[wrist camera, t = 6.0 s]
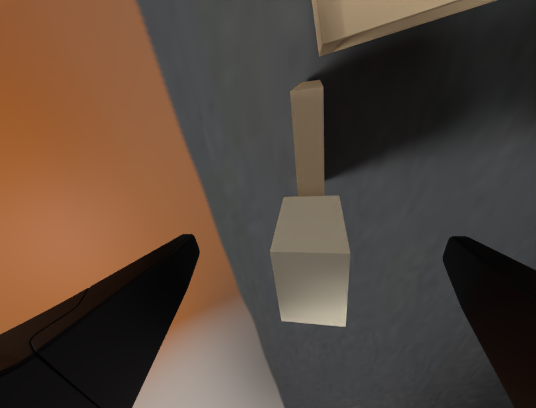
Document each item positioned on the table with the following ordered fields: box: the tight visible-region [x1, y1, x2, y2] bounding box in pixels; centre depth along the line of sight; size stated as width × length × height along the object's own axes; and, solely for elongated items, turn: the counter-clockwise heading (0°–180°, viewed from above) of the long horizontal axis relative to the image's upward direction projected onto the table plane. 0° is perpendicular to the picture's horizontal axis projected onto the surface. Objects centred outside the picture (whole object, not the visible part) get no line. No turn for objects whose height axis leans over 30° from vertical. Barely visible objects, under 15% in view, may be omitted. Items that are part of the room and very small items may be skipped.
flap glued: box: [270, 80, 350, 327], centre depth 10 cm, size 2×6×10 cm, turn 7°
